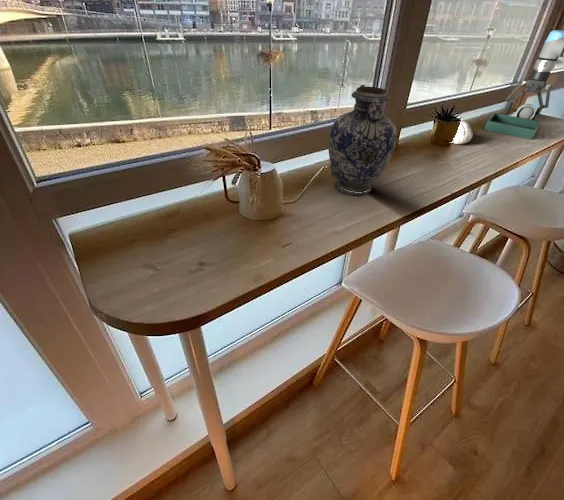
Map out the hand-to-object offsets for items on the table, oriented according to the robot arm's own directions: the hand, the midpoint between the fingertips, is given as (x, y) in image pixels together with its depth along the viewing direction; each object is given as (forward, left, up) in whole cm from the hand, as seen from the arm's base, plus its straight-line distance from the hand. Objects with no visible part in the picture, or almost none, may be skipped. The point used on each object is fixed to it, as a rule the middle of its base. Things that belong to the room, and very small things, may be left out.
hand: (518, 119), depth 164 cm
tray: (+1, +21, 0) cm, 21 cm away
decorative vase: (+31, +122, 0) cm, 126 cm away
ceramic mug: (0, 0, 0) cm, 0 cm away
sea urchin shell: (+18, +55, 0) cm, 58 cm away
